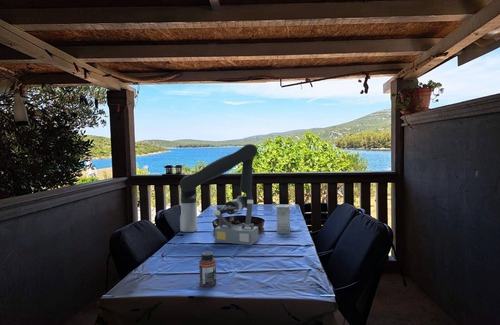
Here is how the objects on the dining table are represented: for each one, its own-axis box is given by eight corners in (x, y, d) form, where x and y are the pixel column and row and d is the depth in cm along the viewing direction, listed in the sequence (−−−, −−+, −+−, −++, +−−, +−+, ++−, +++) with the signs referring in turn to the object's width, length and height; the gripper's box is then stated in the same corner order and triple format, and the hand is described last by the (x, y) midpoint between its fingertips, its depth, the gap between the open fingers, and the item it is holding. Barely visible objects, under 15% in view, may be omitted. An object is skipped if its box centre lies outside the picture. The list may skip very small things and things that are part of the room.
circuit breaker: (289, 226, 195) (289, 202, 194) (290, 232, 181) (289, 206, 180) (277, 226, 196) (276, 202, 195) (277, 232, 182) (276, 207, 181)
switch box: (214, 241, 167) (214, 223, 167) (223, 236, 176) (222, 219, 176) (251, 245, 159) (251, 226, 159) (258, 239, 169) (258, 222, 168)
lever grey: (243, 226, 165) (246, 199, 169) (245, 227, 166) (248, 200, 170) (249, 227, 163) (252, 199, 167) (251, 227, 165) (253, 200, 169)
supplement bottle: (200, 280, 117) (199, 250, 116) (216, 280, 117) (215, 250, 117) (199, 288, 111) (198, 256, 110) (216, 286, 111) (215, 255, 111)
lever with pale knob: (222, 225, 171) (212, 213, 160) (223, 222, 172) (213, 209, 161) (228, 226, 169) (218, 213, 159) (229, 223, 170) (219, 210, 160)
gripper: (222, 199, 182) (207, 204, 166) (243, 200, 177) (230, 206, 161) (223, 212, 182) (208, 219, 166) (244, 213, 177) (231, 220, 161)
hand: (219, 212), depth 163 cm, fingers closed
